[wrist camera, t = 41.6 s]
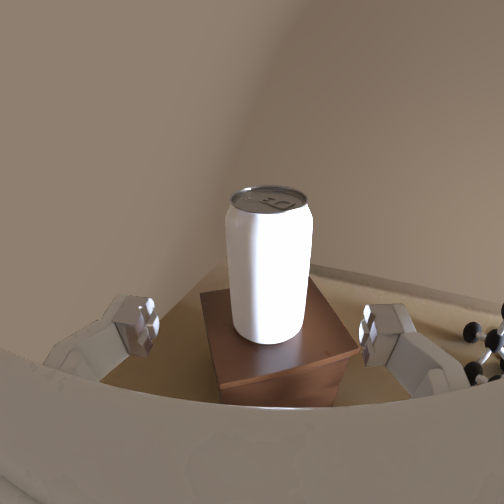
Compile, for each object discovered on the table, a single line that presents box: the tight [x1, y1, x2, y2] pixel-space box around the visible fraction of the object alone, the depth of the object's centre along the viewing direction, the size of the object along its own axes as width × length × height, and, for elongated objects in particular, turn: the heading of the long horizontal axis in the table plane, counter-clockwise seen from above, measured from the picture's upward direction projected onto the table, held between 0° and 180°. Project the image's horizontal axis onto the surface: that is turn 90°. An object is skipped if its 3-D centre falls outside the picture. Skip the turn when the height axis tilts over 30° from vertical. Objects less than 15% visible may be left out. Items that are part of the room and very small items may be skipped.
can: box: [225, 185, 312, 344], centre depth 24 cm, size 6×6×12 cm
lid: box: [200, 275, 360, 389], centre depth 27 cm, size 12×12×1 cm
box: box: [202, 309, 349, 408], centre depth 30 cm, size 11×12×10 cm
